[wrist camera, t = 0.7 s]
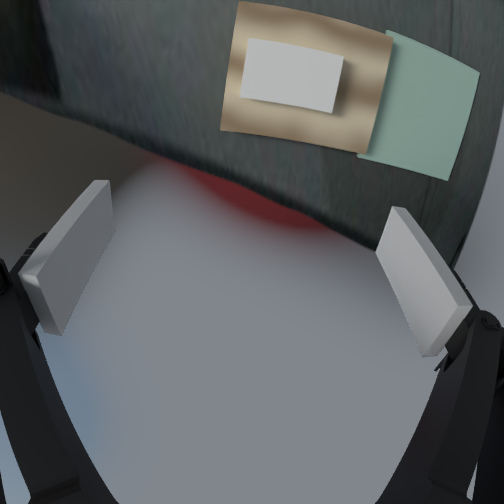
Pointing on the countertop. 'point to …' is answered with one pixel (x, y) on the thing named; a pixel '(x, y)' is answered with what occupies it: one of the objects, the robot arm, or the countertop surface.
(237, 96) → the wooden board
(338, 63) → the white rectangular block
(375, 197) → the countertop surface
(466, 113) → the mat
